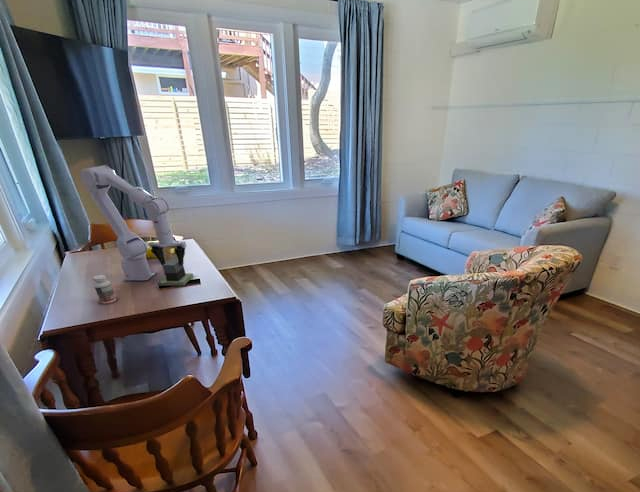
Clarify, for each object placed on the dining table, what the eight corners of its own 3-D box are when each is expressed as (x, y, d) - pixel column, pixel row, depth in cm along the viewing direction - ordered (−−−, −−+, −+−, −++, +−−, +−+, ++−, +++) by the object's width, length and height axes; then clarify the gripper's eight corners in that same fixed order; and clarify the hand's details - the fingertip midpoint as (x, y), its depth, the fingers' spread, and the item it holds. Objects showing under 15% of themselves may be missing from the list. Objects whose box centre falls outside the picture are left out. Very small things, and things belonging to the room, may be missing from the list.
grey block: (164, 273, 162) (162, 265, 160) (172, 267, 168) (170, 259, 166) (176, 273, 162) (174, 265, 160) (183, 266, 168) (181, 259, 166)
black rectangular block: (166, 281, 163) (164, 273, 162) (174, 274, 170) (172, 267, 168) (178, 281, 163) (176, 273, 162) (185, 274, 169) (183, 267, 168)
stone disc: (164, 264, 184) (158, 243, 179) (163, 262, 187) (157, 241, 182) (187, 260, 189) (182, 239, 183) (186, 258, 191) (181, 237, 186)
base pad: (160, 285, 163) (159, 282, 162) (170, 276, 172) (169, 273, 171) (184, 285, 163) (183, 282, 162) (193, 276, 171) (192, 273, 171)
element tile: (171, 256, 194) (168, 247, 191) (138, 259, 191) (135, 249, 188) (176, 247, 206) (174, 238, 203) (145, 250, 203) (143, 240, 201)
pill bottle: (98, 301, 151) (88, 277, 145) (113, 296, 154) (104, 272, 149) (104, 305, 148) (94, 280, 142) (119, 300, 151) (110, 276, 146)
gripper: (140, 234, 153) (150, 267, 160) (177, 234, 153) (186, 267, 160) (149, 229, 159) (158, 262, 166) (184, 229, 159) (192, 261, 166)
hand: (172, 264), depth 163 cm, fingers open, 7 cm apart
